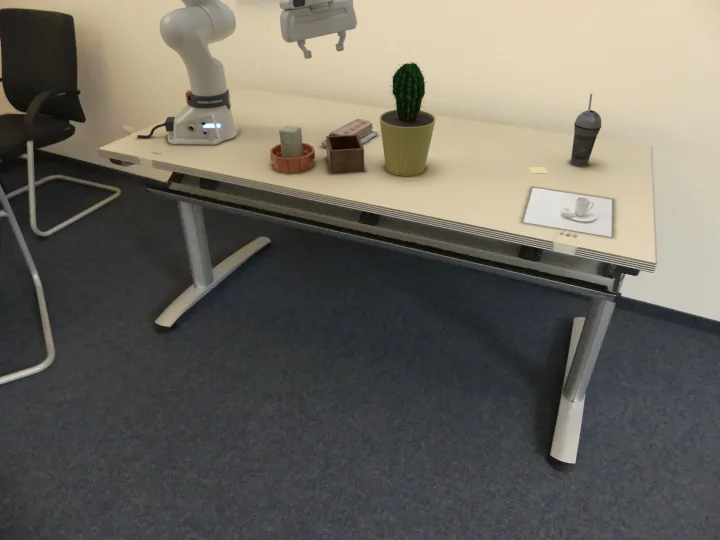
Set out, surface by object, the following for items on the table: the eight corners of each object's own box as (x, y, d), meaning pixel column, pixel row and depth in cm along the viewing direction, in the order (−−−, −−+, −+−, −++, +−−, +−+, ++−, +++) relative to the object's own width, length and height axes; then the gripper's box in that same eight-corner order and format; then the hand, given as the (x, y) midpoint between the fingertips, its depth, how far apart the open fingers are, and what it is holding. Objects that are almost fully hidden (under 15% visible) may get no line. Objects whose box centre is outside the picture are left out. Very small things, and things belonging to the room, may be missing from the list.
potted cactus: (423, 155, 169) (430, 51, 152) (438, 176, 156) (447, 66, 139) (374, 159, 167) (375, 54, 150) (384, 181, 154) (387, 69, 137)
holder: (330, 173, 158) (329, 151, 154) (326, 157, 168) (325, 136, 164) (364, 171, 159) (364, 149, 156) (358, 155, 169) (358, 134, 165)
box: (304, 163, 164) (302, 127, 158) (297, 169, 161) (294, 132, 155) (289, 160, 166) (286, 124, 160) (281, 166, 163) (278, 129, 156)
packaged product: (352, 115, 184) (378, 121, 180) (353, 129, 187) (378, 135, 183) (320, 132, 172) (346, 138, 168) (321, 146, 175) (347, 153, 170)
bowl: (271, 175, 157) (270, 160, 155) (271, 158, 168) (269, 143, 165) (316, 172, 159) (315, 157, 156) (313, 155, 169) (312, 140, 167)
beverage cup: (579, 170, 159) (595, 100, 148) (560, 161, 165) (574, 93, 153) (597, 165, 162) (614, 96, 151) (578, 156, 167) (594, 89, 156)
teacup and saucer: (558, 219, 136) (561, 204, 133) (560, 204, 142) (563, 190, 140) (596, 225, 133) (600, 210, 131) (597, 210, 139) (601, 196, 137)
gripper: (345, -11, 145) (353, 46, 151) (273, 3, 137) (284, 61, 144) (357, -12, 140) (364, 47, 146) (282, 2, 132) (294, 63, 139)
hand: (324, 54), depth 145 cm, fingers open, 8 cm apart
